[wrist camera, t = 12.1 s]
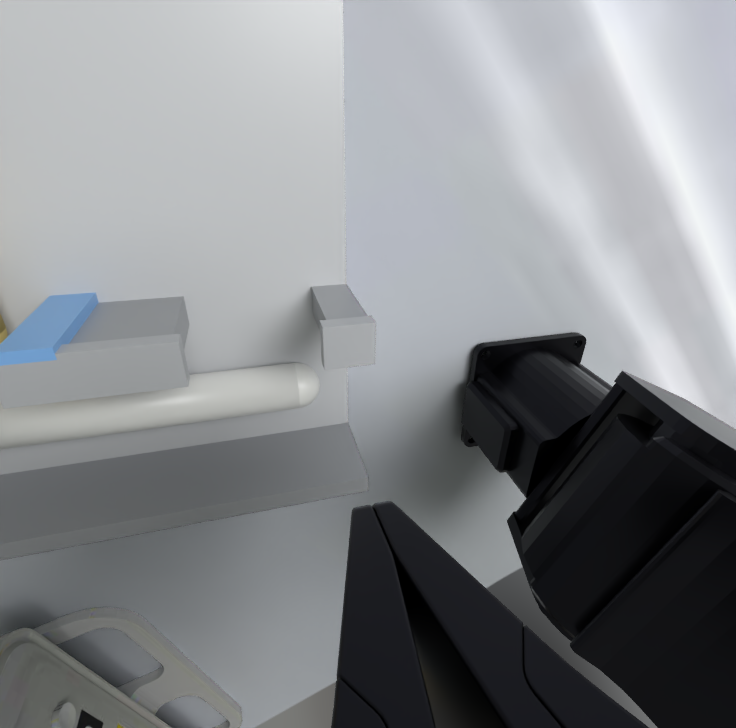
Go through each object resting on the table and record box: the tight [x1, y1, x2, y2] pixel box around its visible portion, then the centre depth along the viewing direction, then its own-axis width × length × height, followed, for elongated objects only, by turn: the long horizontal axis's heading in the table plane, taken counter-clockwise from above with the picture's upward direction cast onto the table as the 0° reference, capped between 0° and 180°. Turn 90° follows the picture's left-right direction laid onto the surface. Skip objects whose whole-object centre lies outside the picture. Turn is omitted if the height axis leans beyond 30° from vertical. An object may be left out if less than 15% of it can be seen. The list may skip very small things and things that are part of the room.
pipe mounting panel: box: [0, 0, 376, 560], centre depth 14 cm, size 19×18×5 cm
